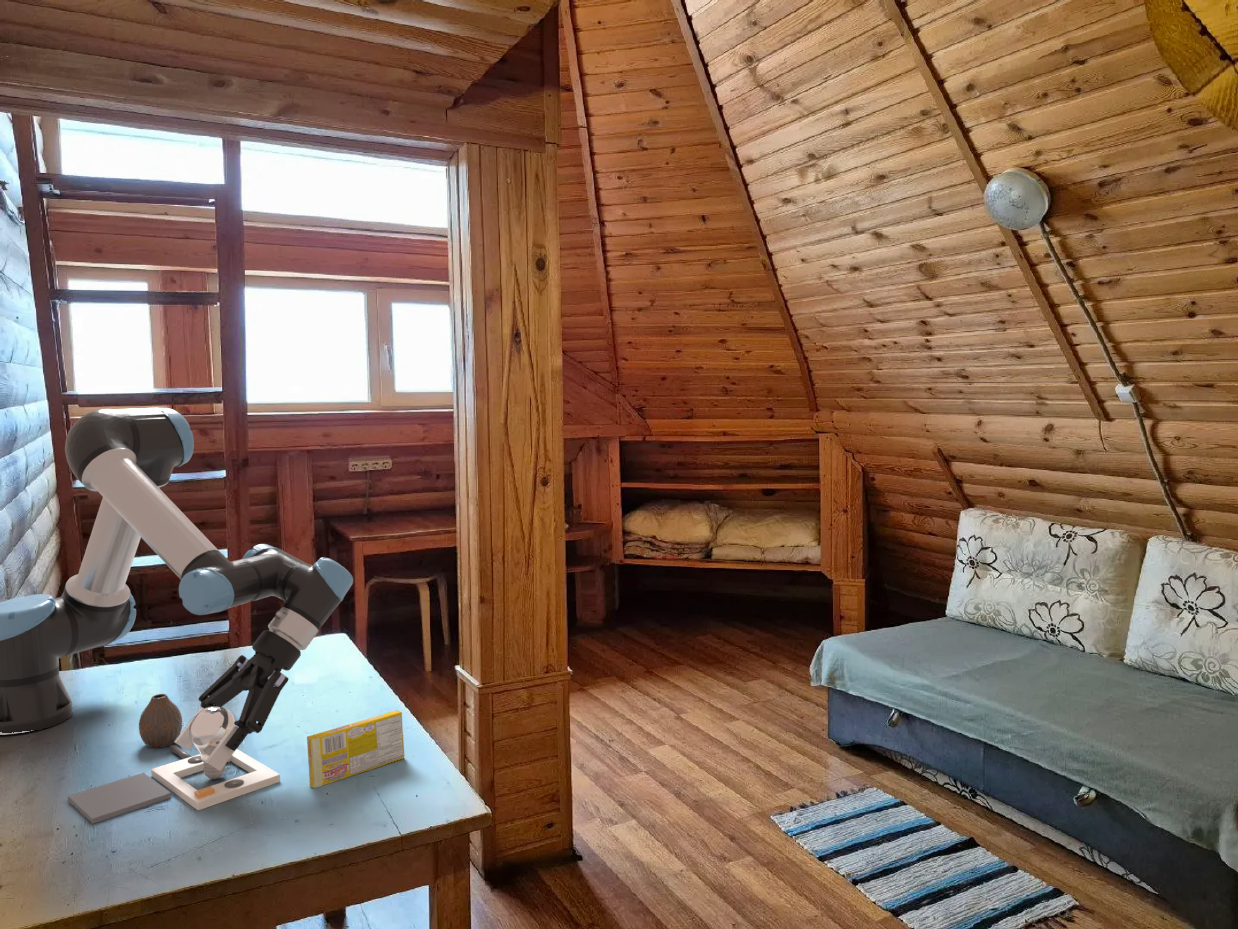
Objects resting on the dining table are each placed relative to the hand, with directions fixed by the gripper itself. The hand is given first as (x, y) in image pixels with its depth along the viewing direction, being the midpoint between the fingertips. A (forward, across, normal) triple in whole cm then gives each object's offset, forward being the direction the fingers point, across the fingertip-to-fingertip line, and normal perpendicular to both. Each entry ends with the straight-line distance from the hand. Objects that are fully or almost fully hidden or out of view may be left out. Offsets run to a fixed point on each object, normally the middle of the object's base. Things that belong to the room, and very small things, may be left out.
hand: (196, 756), depth 142 cm
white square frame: (+1, -4, +5) cm, 7 cm away
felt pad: (+11, -4, -4) cm, 12 cm away
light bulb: (+2, 0, +5) cm, 6 cm away
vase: (+2, -22, +6) cm, 23 cm away
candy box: (-10, +15, +18) cm, 25 cm away
